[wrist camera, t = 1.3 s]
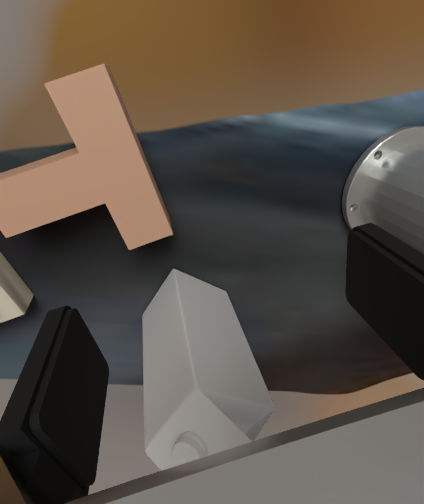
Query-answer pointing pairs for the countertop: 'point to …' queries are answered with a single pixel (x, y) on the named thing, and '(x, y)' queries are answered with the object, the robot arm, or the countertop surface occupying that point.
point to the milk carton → (197, 375)
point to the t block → (88, 167)
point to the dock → (12, 292)
